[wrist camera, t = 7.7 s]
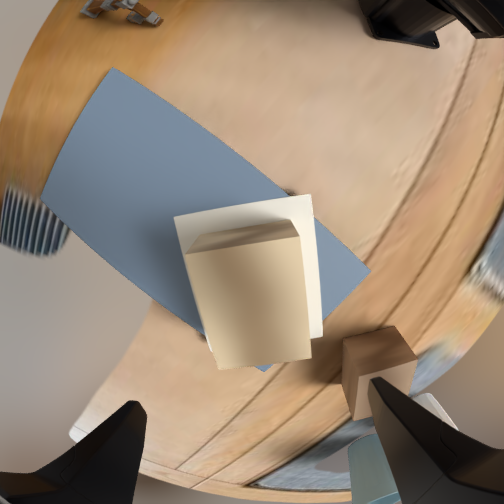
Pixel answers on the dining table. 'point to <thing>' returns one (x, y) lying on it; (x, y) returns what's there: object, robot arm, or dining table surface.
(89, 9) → the wooden post with brackets
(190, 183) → the board
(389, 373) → the walnut block
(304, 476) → the dining table surface
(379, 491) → the cup
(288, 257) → the beech block
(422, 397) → the shot glass
